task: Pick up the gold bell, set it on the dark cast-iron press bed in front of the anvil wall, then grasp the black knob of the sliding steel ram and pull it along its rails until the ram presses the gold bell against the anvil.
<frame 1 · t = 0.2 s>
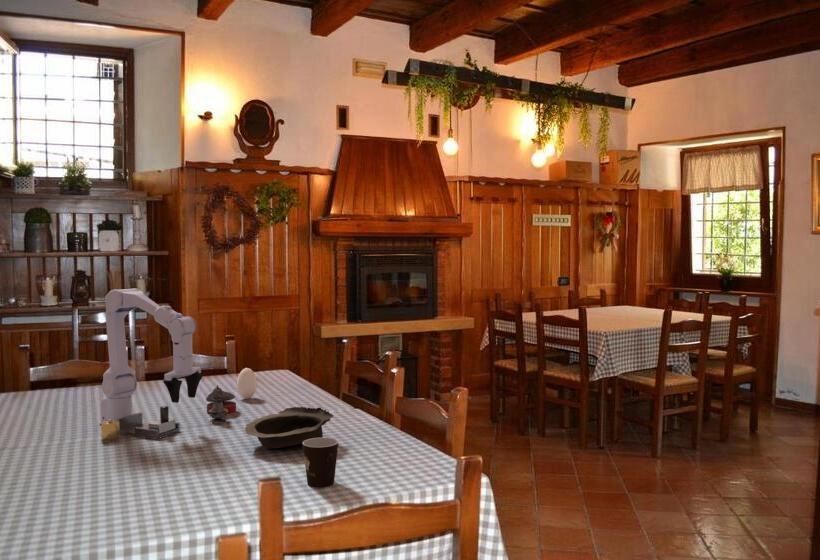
hand: (183, 399, 218), 10 cm above the table, tool pointing down, fingers open, 7 cm apart
press frame: (145, 432, 218), on the table
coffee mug: (320, 486, 168), on the table
egg: (247, 399, 266), on the table
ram: (162, 418, 215), point 5 cm above the table, slide at 0.0 cm
gold bell: (110, 439, 210), on the table
stone bowl: (288, 446, 203), on the table
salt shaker: (218, 421, 232), on the table
canned food: (221, 413, 244), on the table
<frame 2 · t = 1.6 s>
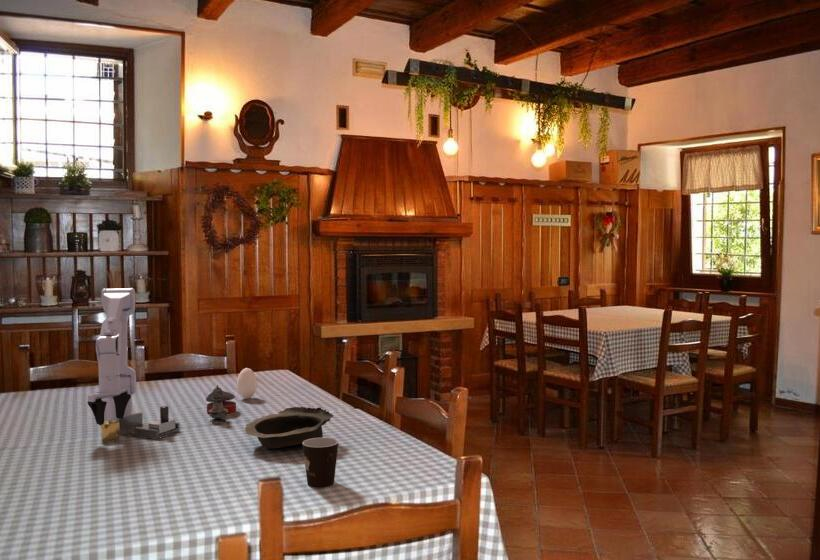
hand: (110, 421, 210), 5 cm above the table, tool pointing down, fingers open, 7 cm apart
nothing on the table moved.
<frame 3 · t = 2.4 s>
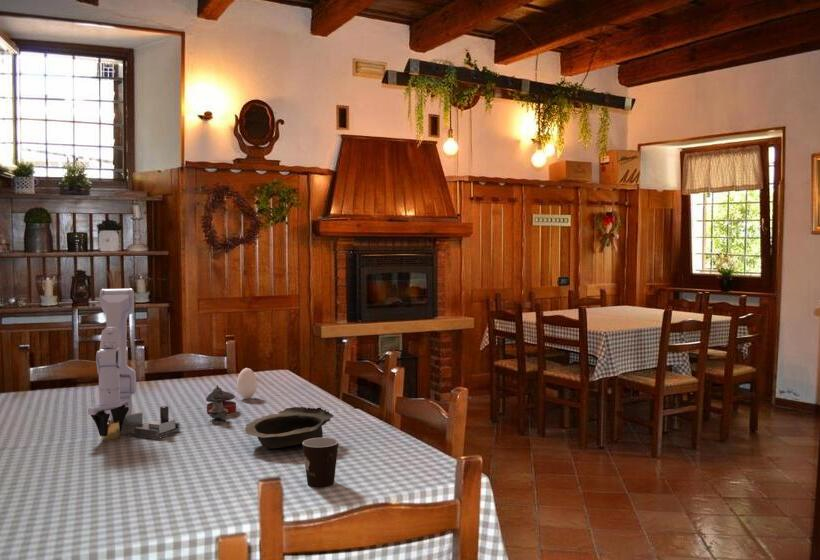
hand: (110, 433, 210), 2 cm above the table, tool pointing down, fingers closed on gold bell, 5 cm apart
gold bell: (110, 439, 210), on the table, touching gripper
everything else where it was.
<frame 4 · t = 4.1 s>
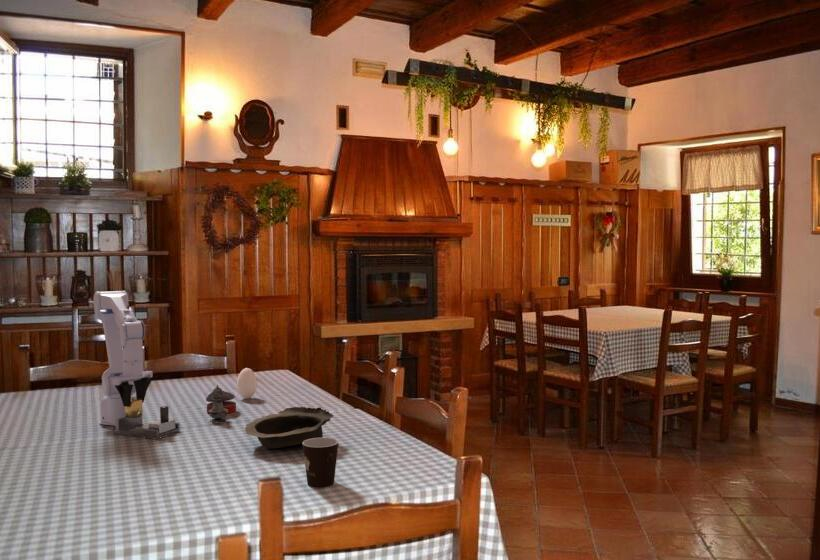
hand: (133, 404, 217), 9 cm above the table, tool pointing down, fingers closed on gold bell, 5 cm apart
gold bell: (133, 416, 217), point 5 cm above the table, touching gripper
everything else where it was.
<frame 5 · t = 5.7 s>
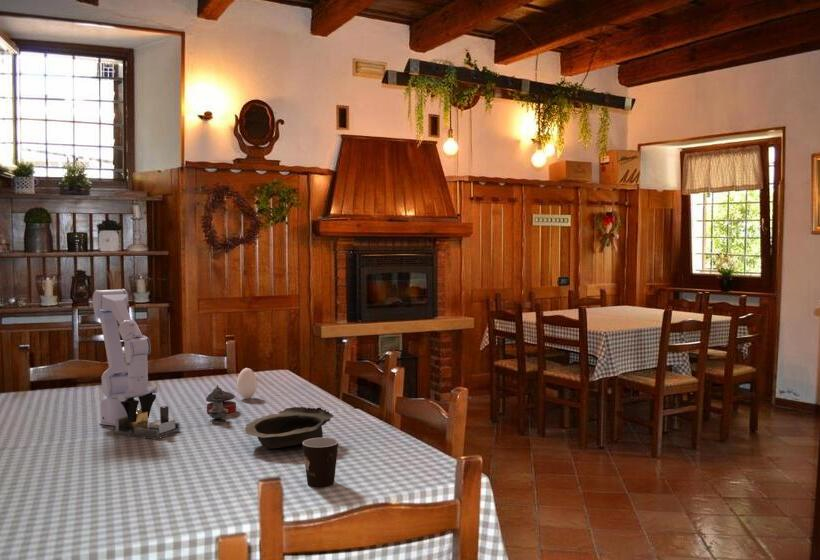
hand: (138, 419, 218), 4 cm above the table, tool pointing down, fingers closed on gold bell, 5 cm apart
gold bell: (139, 428, 219), point 1 cm above the table, touching gripper, press frame
everything else where it was.
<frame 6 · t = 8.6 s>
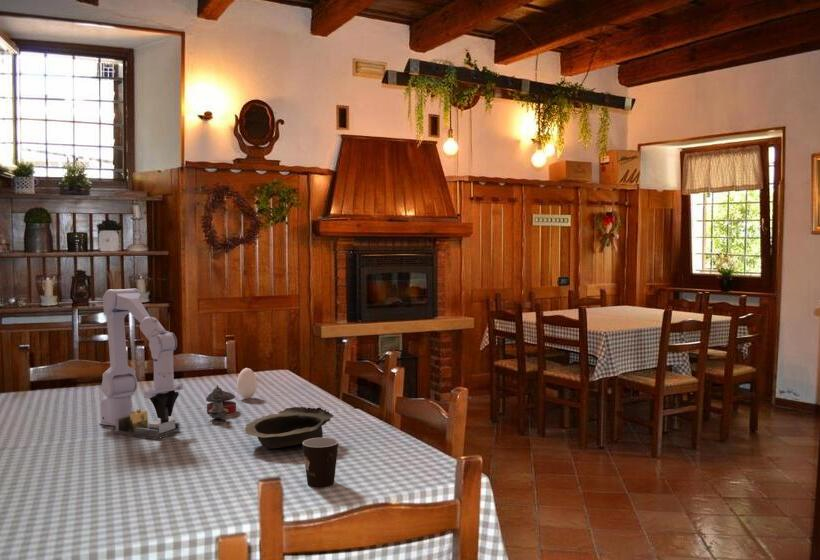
hand: (164, 417, 215), 5 cm above the table, tool pointing down, fingers closed on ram, 2 cm apart
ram: (162, 418, 215), point 5 cm above the table, slide at 0.0 cm, touching gripper
gold bell: (139, 428, 219), point 1 cm above the table, touching press frame
everything else where it was.
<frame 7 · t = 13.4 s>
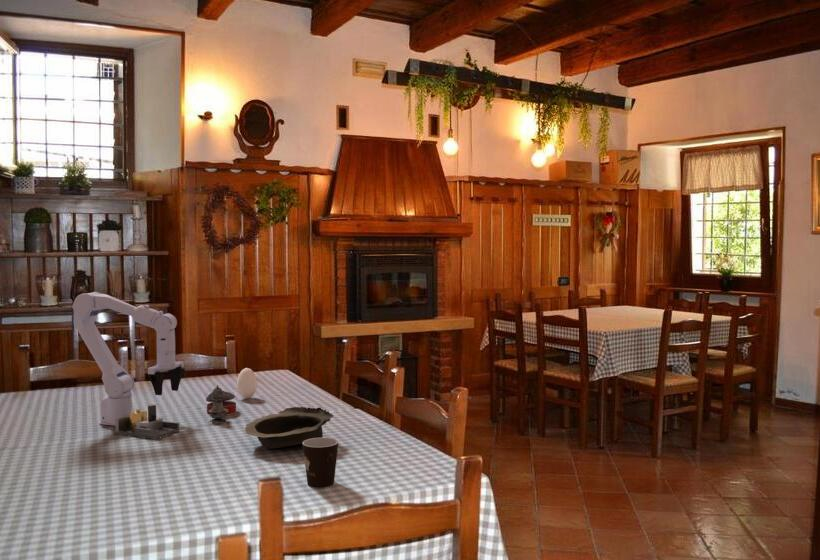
hand: (166, 392, 229), 10 cm above the table, tool pointing down, fingers open, 7 cm apart
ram: (149, 417, 217), point 5 cm above the table, slide at 4.8 cm
everything else where it was.
at the end: gold bell 0.1 cm from the target spot, point 1.0 cm above the table; gold bell tilted 0°; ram slide at 4.8 cm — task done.
